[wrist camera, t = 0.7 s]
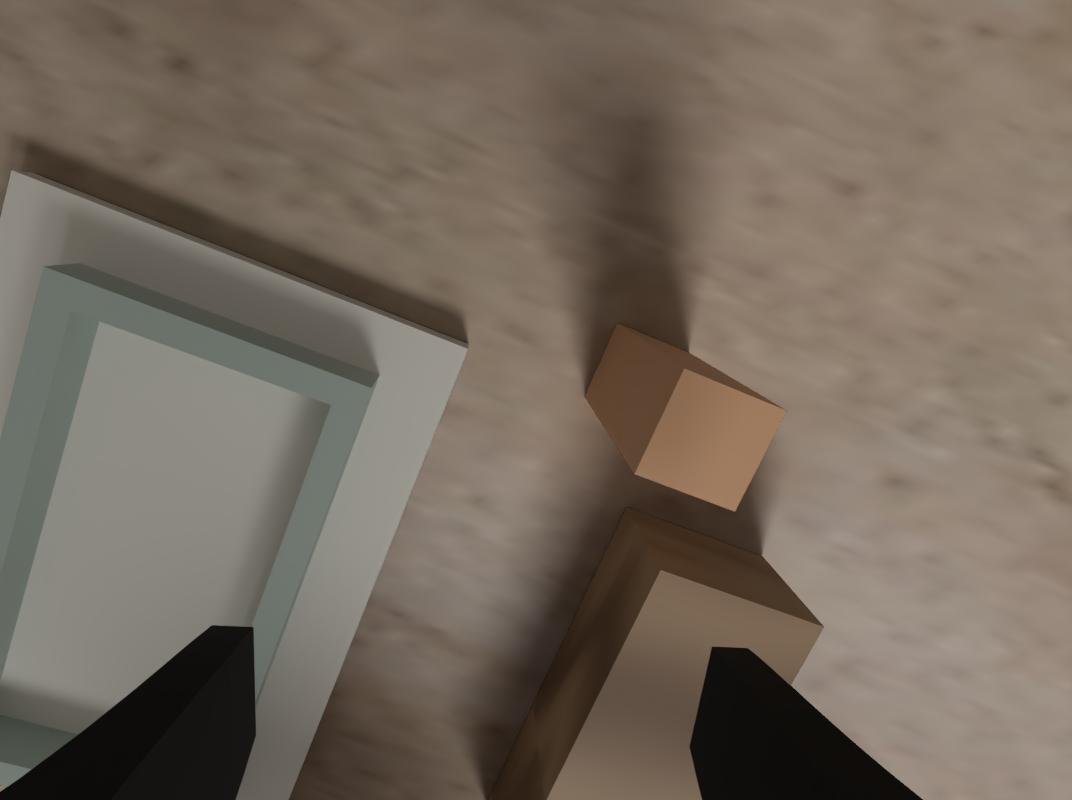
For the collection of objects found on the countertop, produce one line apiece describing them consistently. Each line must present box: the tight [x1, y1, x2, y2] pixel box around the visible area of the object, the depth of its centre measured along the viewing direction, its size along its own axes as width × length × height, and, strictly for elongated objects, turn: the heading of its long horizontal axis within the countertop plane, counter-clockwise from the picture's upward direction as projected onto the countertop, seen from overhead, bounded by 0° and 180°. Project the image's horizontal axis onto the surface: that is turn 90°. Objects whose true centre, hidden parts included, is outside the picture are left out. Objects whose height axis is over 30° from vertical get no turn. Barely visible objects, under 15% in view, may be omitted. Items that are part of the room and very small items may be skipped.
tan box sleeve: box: [488, 507, 824, 800], centre depth 21 cm, size 12×5×4 cm, turn 157°
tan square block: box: [585, 323, 787, 512], centre depth 17 cm, size 2×2×6 cm
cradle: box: [0, 170, 468, 800], centre depth 19 cm, size 18×12×2 cm, turn 157°
